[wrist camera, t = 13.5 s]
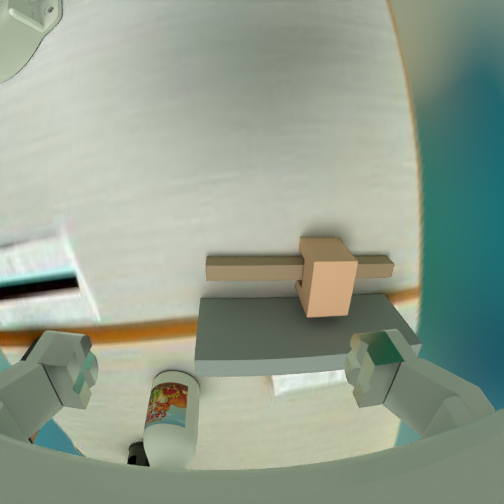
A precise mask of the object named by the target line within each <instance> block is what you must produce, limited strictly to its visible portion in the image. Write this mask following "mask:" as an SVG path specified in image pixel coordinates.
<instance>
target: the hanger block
mask: <svg viewBox="0 0 504 504" xmlns="http://www.w3.org/2000/svg"><path fill="white" fill-rule="evenodd" d="M299 250H300V252H301V254H302V256H303V258H304V260H305V262H304V271H303V280H296V284H295V288H296V291H297V293H298V296H299V298H300V301H301V304H302V306H303V309H304V311H305V314H306V316H307V317H326V316H343V315H348V311H349V306H350V301H351V296H352V292H353V286H354V281H355V276H356V271H357V265H358V260H357V259H356V258H355V257H354V256H353V255H352V253H351V252H350V251H349V250H348V249H347V248H346V246H345V245H344V244H343V243H342V242H341V241H340V239H339V238H301V237H300V244H299Z"/></svg>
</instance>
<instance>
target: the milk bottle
mask: <svg viewBox="0 0 504 504" xmlns="http://www.w3.org/2000/svg"><path fill="white" fill-rule="evenodd" d="M199 396H200V389H199V385H198V383H197V382H196V381H195V379H194V378H192V377H191V376H189V375H188V374H185V373H182V372H178V371H167V372H164V373H161V374H159V375H158V376H157V377H156V378H155V379H154V382H153V385H152V390H151V395H150V400H149V405H148V410H147V416H146V421H145V427H144V435H143V443H144V449H145V453H146V455H147V458H148V461H149V464H150V467H157V468H169V469H186V467H187V466H188V464H189V463H190V461H191V460H192V458H193V456H194V453H195V450H196V445H197V435H198V416H199Z"/></svg>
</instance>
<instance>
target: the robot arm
mask: <svg viewBox="0 0 504 504" xmlns="http://www.w3.org/2000/svg"><path fill="white" fill-rule="evenodd" d="M51 9H53V11H52V12H50V11H51ZM61 17H62V5H61V0H0V83H1V82H4V81H6V80H8V79H9V78H11V77H12V76H14V75H15V74H16V73H17V72H18V71H19V70H20V69H21V68H22V67H23V66H24V65H25V64H26V63H27V62H28V60H29V59H30V58H31V56H32V55H33V53H34V52H35V50H36V48H37V47H38V45H39V43H40V42H41V40H42V39H43V37H44V36H45V35H46V34H47V33H48V32H49V31H50V30H51V29H52V28H53V27H55V26H56V24H57V23H58V22H59V21H60V19H61ZM91 346H92V344H91V341H90V338H89V336H87V335H84V334H75V333H67V332H57V331H49V330H48V331H45V332H44V333H43V334H42V336H41V337H40V339H39V340H38V342H37V343H36V345H35V347H34V348H33V350H32V351H31V353H30V354H29V356H28V357H27V359H26V361H20V362H18V363H16V364H15V365H13V366H11V367H10V368H8V369H6V370H4V371H2V372H1V373H0V504H504V408H502V409H500V410H498V411H495V409H494V408H493V406H492V405H491V404H490V402H489V401H488V399H487V398H486V397H485V395H484V394H483V392H482V391H481V390H480V388H479V387H477V386H475V385H473V384H472V383H469V382H468V381H466V380H463V379H462V378H460V377H458V376H456V375H454V374H452V373H450V372H448V371H446V370H444V369H442V368H440V367H438V366H437V365H435V364H433V363H431V362H429V361H427V360H425V359H419V358H418V357H417V355H416V354H415V352H414V351H413V349H412V348H411V347H410V345H409V344H408V342H407V341H406V339H405V338H404V337H403V335H402V334H401V333H400V331H399V330H397V329H390V330H382V331H377V332H368V333H357V334H353V336H352V338H351V341H350V346H351V348H352V350H351V351H350V352H349V353H348V354H347V356H346V360H345V374H346V378H347V380H348V383H350V384H351V385H353V386H354V390H353V395H354V397H355V399H356V402H357V404H358V406H359V408H361V407H368V406H375V405H381V404H383V406H385V407H386V408H387V409H388V410H390V411H391V412H392V413H393V414H395V415H396V416H397V417H398V418H400V419H401V420H402V421H403V422H405V423H406V424H407V425H408V426H410V427H411V428H412V429H413V430H415V431H416V432H417V433H419V434H420V435H421V438H420V439H419V441H416V442H412V443H409V444H405V445H402V446H398V447H394V448H390V449H386V450H382V451H378V452H374V453H369V454H365V455H360V456H355V457H350V458H345V459H340V460H334V461H328V462H321V463H314V464H307V465H299V466H290V467H279V468H267V469H250V470H186V469H169V468H157V467H146V466H137V465H129V464H122V463H115V462H109V461H103V460H97V459H92V458H87V457H82V456H77V455H73V454H68V453H64V452H60V451H56V450H52V449H48V448H44V447H41V446H37V445H34V444H31V443H30V441H29V440H28V439H29V438H30V437H31V436H32V435H33V434H34V433H35V432H37V431H38V430H39V429H40V428H41V427H42V426H43V425H44V424H45V423H46V422H47V421H48V420H50V419H51V418H52V417H53V416H54V415H55V414H56V413H57V412H59V411H60V410H61V409H62V408H63V407H62V406H65V407H71V408H78V409H86V408H87V405H88V402H89V399H90V397H91V392H90V390H89V388H91V387H92V386H93V385H95V383H96V380H97V378H98V363H97V359H96V356H95V355H94V354H93V353H92V352H91V351H90V349H91Z"/></svg>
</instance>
